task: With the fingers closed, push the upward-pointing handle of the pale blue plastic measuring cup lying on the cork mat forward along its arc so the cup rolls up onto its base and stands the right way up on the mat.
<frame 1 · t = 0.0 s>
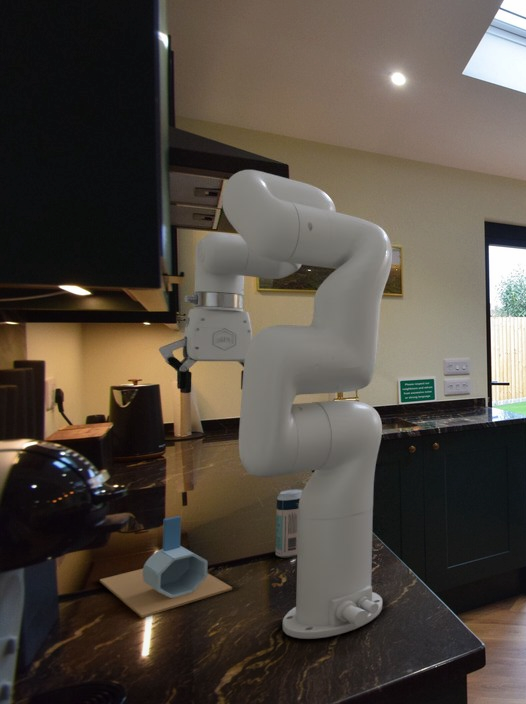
hand: (217, 391, 101), 31 cm above the worktop, tool pointing down, fingers open, 9 cm apart
cork mat: (164, 585, 86), on the worktop
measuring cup: (175, 570, 84), point 3 cm above the worktop, touching cork mat
white labelled bottle: (290, 555, 100), on the worktop
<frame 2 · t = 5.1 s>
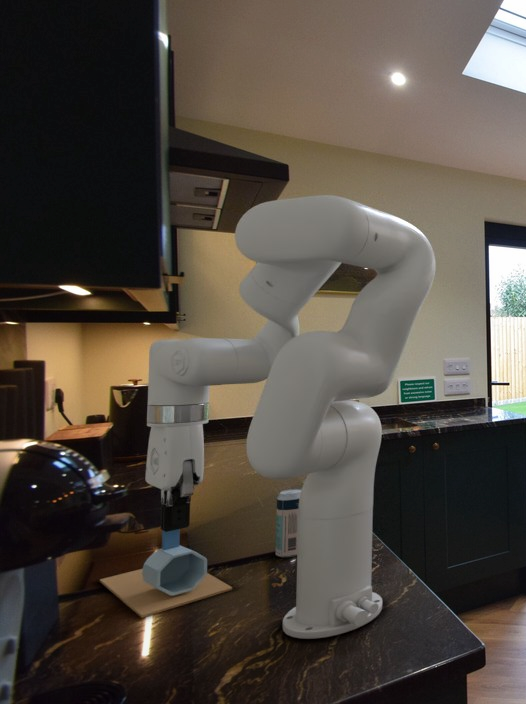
hand: (175, 528, 84), 10 cm above the worktop, tool pointing down, fingers closed
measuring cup: (174, 569, 84), point 4 cm above the worktop, touching cork mat, gripper
everything else where it was.
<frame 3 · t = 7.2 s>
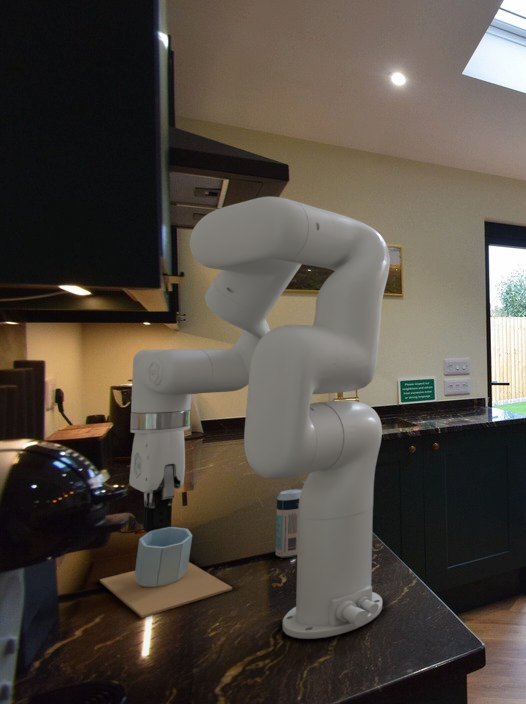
hand: (157, 529, 89), 9 cm above the worktop, tool pointing down, fingers closed
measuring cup: (163, 556, 87), point 5 cm above the worktop, tilted 74°, touching cork mat, gripper
everything else where it was.
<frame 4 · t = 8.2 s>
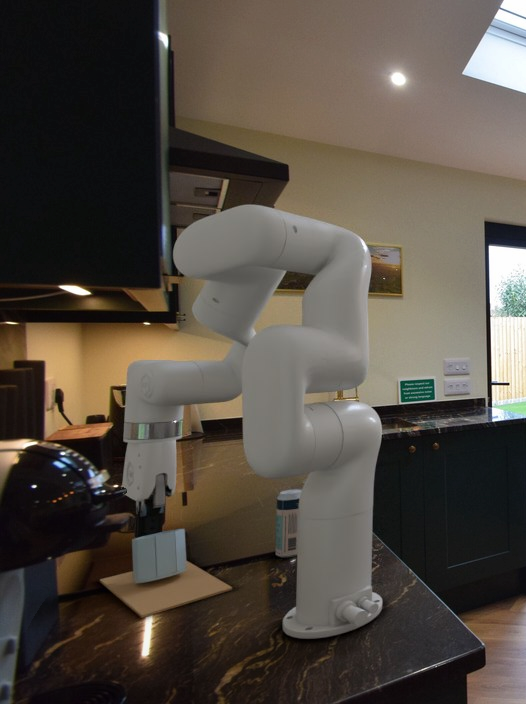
hand: (148, 536, 91), 7 cm above the worktop, tool pointing down, fingers closed
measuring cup: (159, 555, 88), point 4 cm above the worktop, tilted 101°, touching cork mat, gripper
everything else where it was.
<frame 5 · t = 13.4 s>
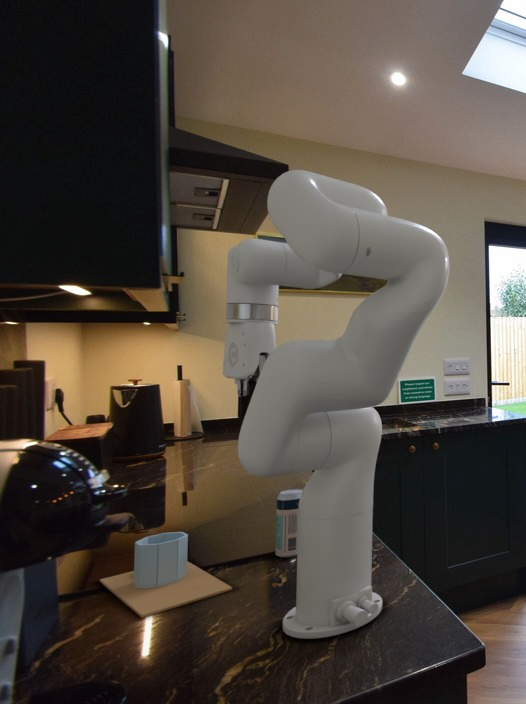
hand: (250, 417, 93), 27 cm above the worktop, tool pointing down, fingers closed
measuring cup: (161, 559, 88), point 4 cm above the worktop, tilted 90°, touching cork mat
everything else where it was.
at the end: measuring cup tilted 90°; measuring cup inside the target area on the cork mat (0.9 cm from its centre), point 3.9 cm above the cork mat's base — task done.
